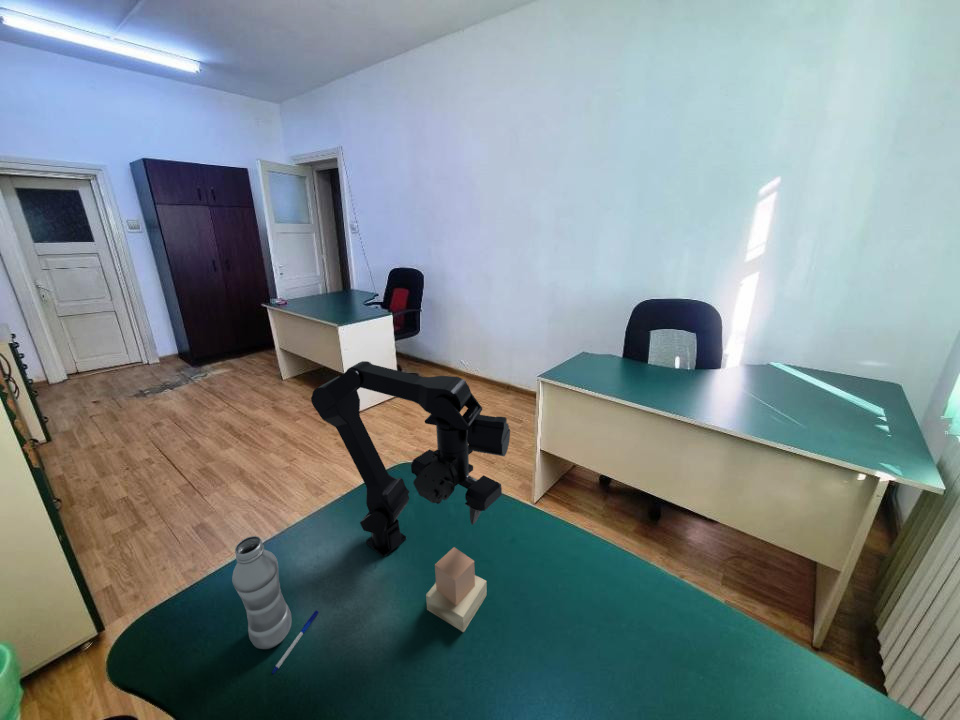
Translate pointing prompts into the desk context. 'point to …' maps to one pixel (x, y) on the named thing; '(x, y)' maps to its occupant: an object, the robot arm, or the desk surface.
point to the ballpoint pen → (295, 641)
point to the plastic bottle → (261, 593)
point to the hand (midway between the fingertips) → (455, 512)
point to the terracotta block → (455, 575)
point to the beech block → (461, 612)
